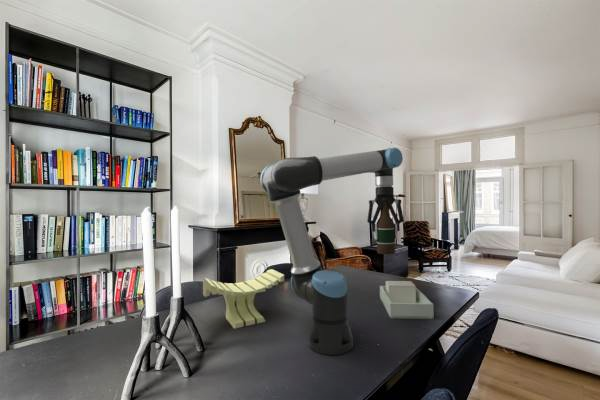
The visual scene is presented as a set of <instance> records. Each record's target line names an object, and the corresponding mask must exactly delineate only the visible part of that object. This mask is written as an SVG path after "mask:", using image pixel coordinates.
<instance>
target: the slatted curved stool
mask: <svg viewBox="0 0 600 400" xmlns="http://www.w3.org/2000/svg"><path fill="white" fill-rule="evenodd" d="M282 282H283V283H284V282H285V274H284V273H281V272H279V271H277V270H275V269H273V268H272V269H268V270H266V272H263V273H261V274H260V275H257V276H256V277H254V278H251V279H249V280H245V281H240V282H235V283H228V282H224V283H223V282H221V281H215V280H213V279H209V278H206V277H204V278H203V279H202V295H203V297H205V298H206V297H209V296H210V295H212V296H213V295H219V296H220V295H221V296H223V298H224V300H225V306H226V310H225V319H226V320H227V322H228V323H229V324H230V326H231V327H232V328H233V329H235V330H236V329H238V328H242V327H243V328H244V327H247V326H253V325H255V324H261V323H265V322H266V320H265V318H264V316H263V315H261V313H260V312H259V311H258V310H257V309H256V306H255V304H254V299H255V297H256V296H255V295H256V294H258V293H263V292H266V291H267V290H266V289H272V288H273V287H274V286H278V285H279V283H282Z"/></svg>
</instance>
